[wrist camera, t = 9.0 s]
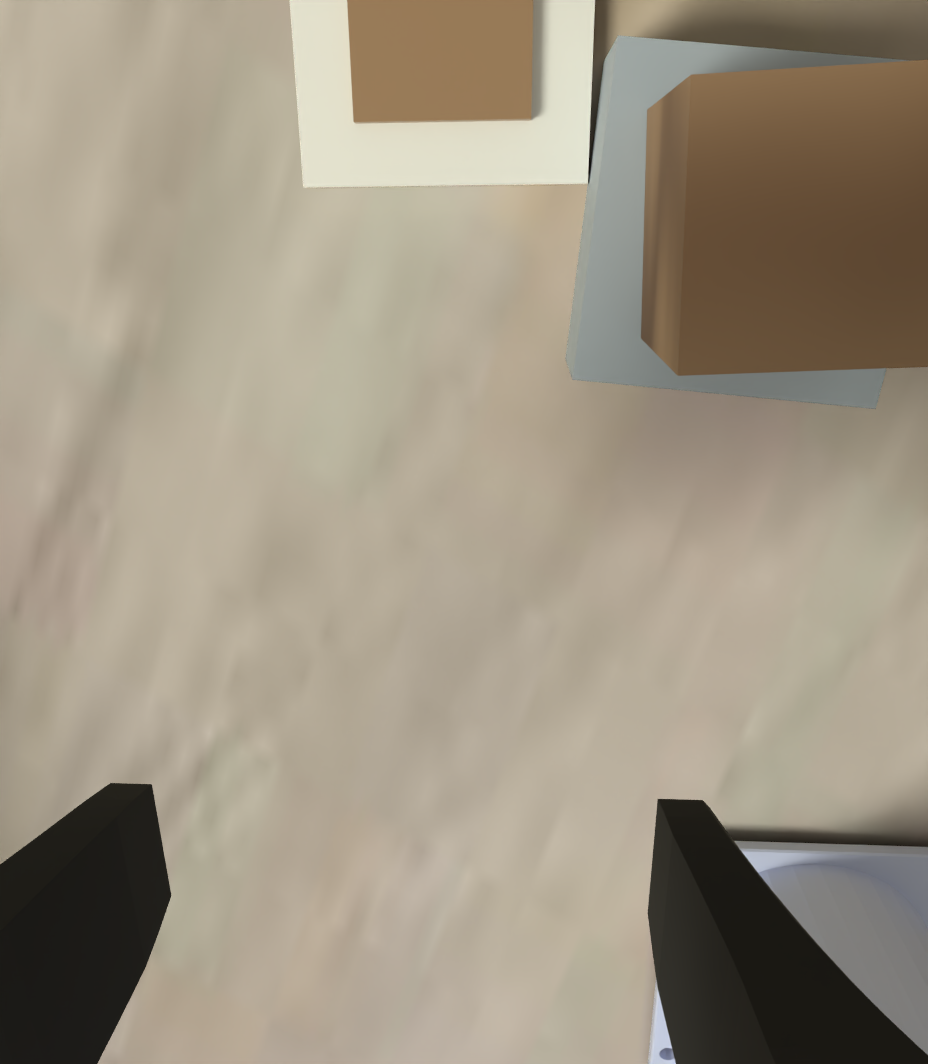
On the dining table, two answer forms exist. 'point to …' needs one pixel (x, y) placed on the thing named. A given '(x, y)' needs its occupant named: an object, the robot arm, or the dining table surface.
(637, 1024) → the dining table surface
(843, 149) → the walnut cube
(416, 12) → the swatch
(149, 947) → the robot arm
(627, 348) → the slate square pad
